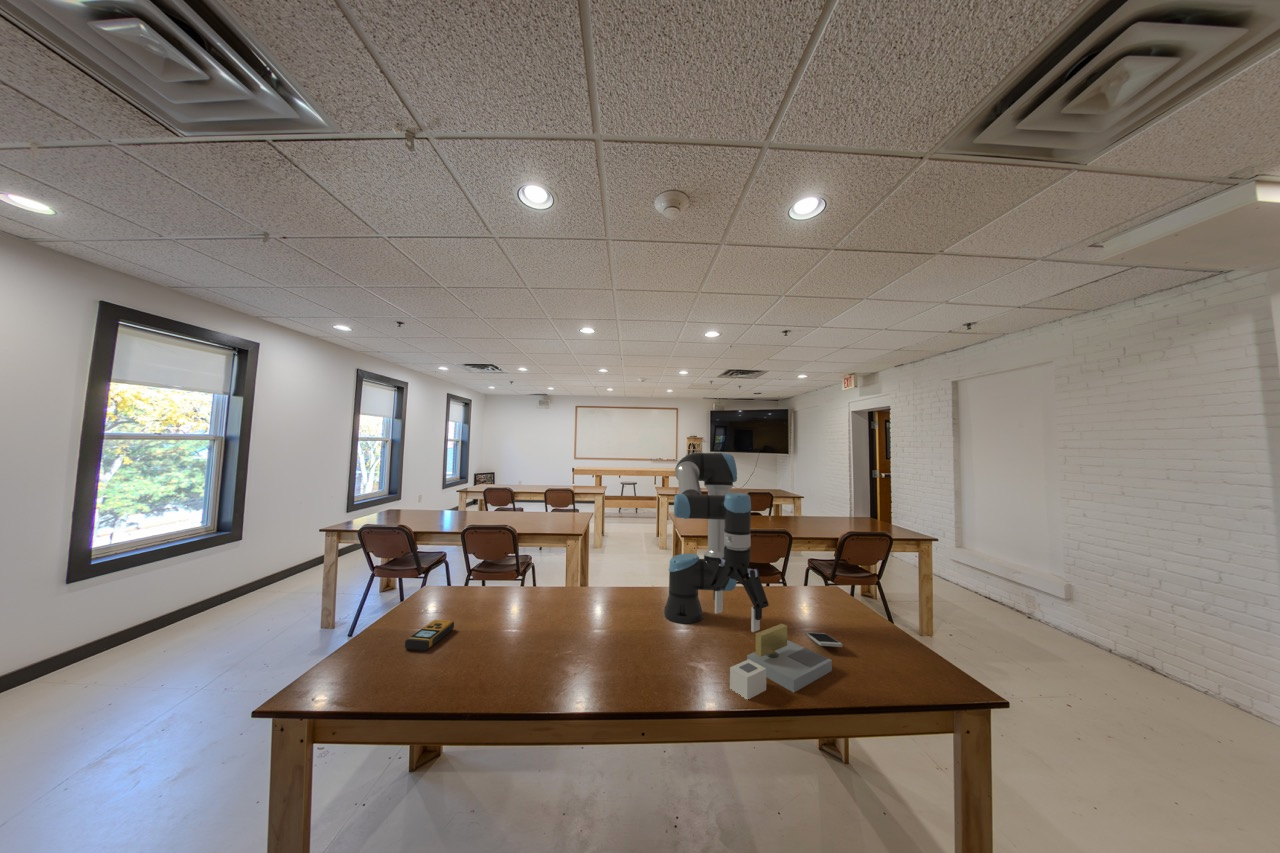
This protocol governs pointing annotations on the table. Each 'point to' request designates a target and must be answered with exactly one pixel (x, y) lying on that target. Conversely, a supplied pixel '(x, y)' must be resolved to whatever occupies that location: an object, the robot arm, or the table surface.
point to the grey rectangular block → (748, 679)
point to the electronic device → (429, 635)
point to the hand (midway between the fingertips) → (736, 621)
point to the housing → (793, 666)
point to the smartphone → (824, 639)
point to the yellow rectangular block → (771, 640)
